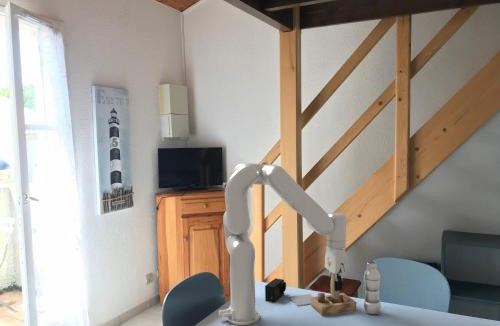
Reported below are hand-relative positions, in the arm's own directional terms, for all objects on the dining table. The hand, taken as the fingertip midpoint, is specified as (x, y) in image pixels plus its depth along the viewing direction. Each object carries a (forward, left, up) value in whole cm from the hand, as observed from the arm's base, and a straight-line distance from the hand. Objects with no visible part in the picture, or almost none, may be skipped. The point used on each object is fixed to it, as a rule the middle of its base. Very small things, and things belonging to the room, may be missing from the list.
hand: (335, 287), depth 163 cm
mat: (-9, +11, -8) cm, 17 cm away
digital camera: (-20, +18, -8) cm, 28 cm away
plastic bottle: (+11, -9, -8) cm, 17 cm away
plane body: (-1, 0, -8) cm, 8 cm away
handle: (0, 0, -4) cm, 4 cm away
